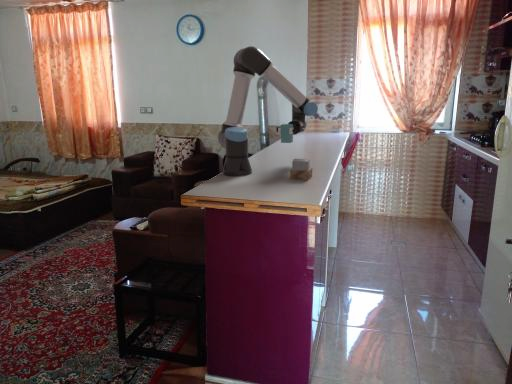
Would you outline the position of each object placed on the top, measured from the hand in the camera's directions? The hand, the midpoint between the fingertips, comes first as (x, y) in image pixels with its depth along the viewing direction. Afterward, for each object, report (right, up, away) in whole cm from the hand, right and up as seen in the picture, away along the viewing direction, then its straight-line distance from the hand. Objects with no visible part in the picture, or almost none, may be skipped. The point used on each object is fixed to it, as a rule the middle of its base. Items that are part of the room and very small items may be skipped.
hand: (284, 131), depth 197 cm
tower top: (+8, -19, -2) cm, 21 cm away
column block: (+2, -5, +6) cm, 8 cm away
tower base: (+8, -23, -1) cm, 25 cm away
